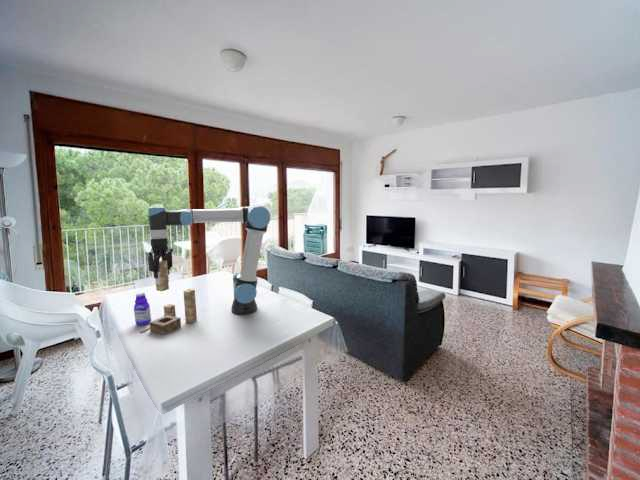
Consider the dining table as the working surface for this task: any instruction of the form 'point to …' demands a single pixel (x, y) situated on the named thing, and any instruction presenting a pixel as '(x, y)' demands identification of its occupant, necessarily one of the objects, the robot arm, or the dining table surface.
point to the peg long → (190, 306)
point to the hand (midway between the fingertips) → (162, 282)
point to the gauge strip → (145, 330)
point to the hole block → (165, 325)
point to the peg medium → (163, 276)
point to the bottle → (142, 309)
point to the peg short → (169, 310)
